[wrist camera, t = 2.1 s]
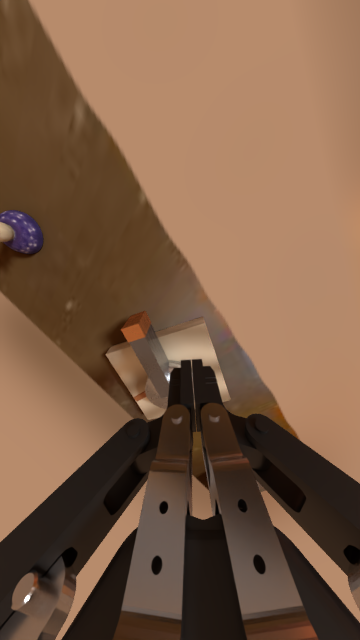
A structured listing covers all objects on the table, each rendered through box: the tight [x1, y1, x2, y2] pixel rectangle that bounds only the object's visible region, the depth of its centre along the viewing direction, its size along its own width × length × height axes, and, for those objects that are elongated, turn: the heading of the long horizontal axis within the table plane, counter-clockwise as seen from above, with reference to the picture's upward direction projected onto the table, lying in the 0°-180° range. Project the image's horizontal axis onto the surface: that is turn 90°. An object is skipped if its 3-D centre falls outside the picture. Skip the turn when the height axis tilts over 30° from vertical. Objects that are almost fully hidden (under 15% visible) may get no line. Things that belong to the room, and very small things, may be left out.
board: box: [105, 317, 230, 420], centre depth 25 cm, size 14×14×2 cm
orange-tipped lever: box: [121, 311, 194, 409], centre depth 21 cm, size 15×7×4 cm, turn 20°
